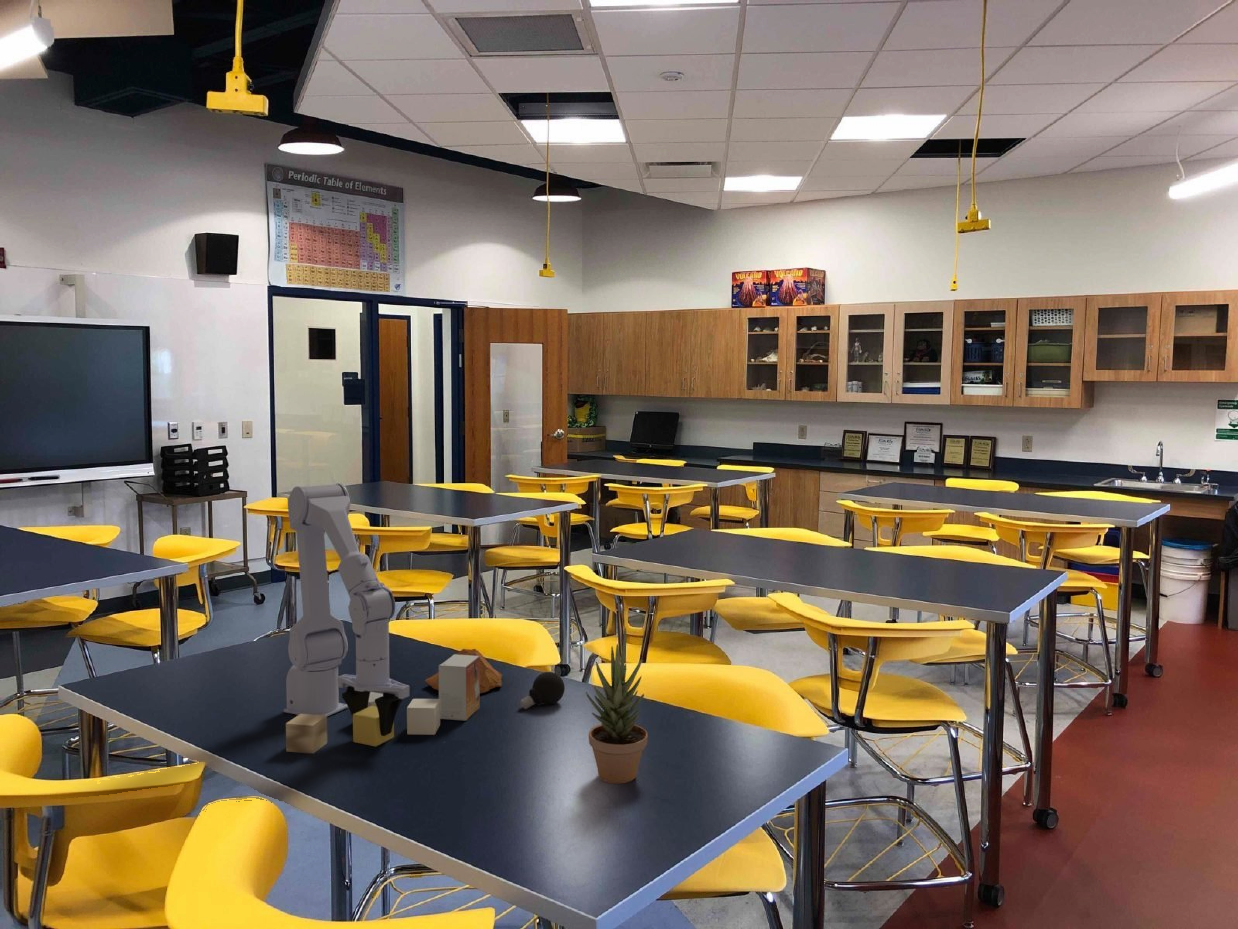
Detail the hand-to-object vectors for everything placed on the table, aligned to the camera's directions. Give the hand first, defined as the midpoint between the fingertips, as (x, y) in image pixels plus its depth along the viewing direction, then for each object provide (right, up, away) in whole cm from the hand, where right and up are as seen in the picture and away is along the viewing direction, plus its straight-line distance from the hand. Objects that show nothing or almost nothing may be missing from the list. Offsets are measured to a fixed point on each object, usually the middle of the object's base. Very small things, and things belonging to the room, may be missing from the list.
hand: (373, 731), depth 170 cm
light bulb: (+29, 0, +19) cm, 35 cm away
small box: (+13, -1, +14) cm, 19 cm away
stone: (+12, +1, +31) cm, 33 cm away
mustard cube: (0, -1, 0) cm, 2 cm away
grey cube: (-2, -1, +9) cm, 9 cm away
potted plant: (+44, -3, -15) cm, 46 cm away
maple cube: (-11, -2, -4) cm, 11 cm away
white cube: (+8, -1, +5) cm, 10 cm away
